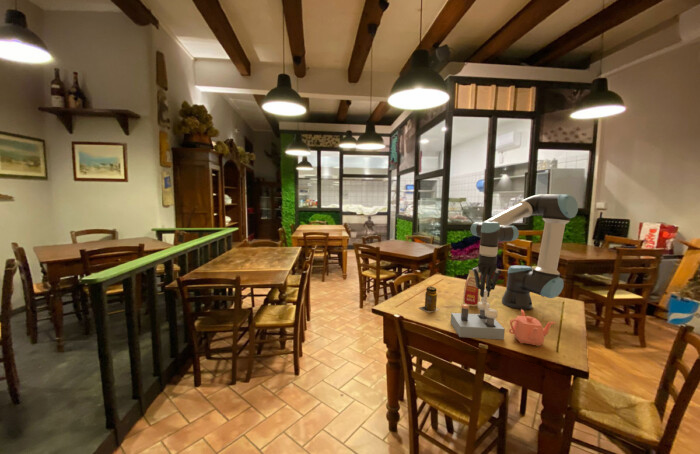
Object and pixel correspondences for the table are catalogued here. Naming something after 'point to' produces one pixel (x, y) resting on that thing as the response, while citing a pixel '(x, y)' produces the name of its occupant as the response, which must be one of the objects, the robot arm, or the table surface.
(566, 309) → the table surface
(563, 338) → the table surface
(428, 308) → the condiment
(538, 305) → the table surface
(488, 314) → the knob
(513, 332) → the teapot
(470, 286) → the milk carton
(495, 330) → the mount
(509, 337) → the table surface
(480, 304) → the knob
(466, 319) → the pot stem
